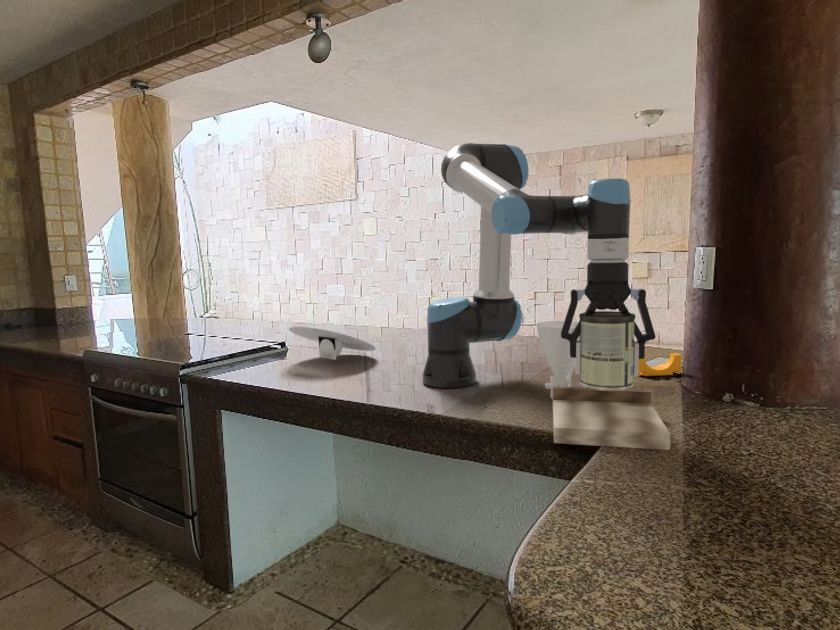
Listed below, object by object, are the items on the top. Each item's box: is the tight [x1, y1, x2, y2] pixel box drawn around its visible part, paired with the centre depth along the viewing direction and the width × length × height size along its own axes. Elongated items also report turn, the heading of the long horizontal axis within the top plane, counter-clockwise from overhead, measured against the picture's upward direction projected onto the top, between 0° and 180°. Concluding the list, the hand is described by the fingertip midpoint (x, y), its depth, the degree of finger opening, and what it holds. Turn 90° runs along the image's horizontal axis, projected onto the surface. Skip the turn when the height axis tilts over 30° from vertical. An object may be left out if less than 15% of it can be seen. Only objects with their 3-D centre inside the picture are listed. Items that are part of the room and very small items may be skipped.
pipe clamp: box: [638, 352, 683, 377], centre depth 145 cm, size 12×4×6 cm, turn 89°
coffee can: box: [578, 310, 636, 391], centre depth 103 cm, size 10×10×14 cm
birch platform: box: [552, 386, 672, 451], centre depth 105 cm, size 20×20×6 cm
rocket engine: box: [536, 320, 580, 400], centre depth 126 cm, size 12×12×18 cm
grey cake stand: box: [288, 326, 377, 361], centre depth 182 cm, size 28×19×27 cm
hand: (606, 374), depth 104 cm, fingers closed on coffee can, 10 cm apart
